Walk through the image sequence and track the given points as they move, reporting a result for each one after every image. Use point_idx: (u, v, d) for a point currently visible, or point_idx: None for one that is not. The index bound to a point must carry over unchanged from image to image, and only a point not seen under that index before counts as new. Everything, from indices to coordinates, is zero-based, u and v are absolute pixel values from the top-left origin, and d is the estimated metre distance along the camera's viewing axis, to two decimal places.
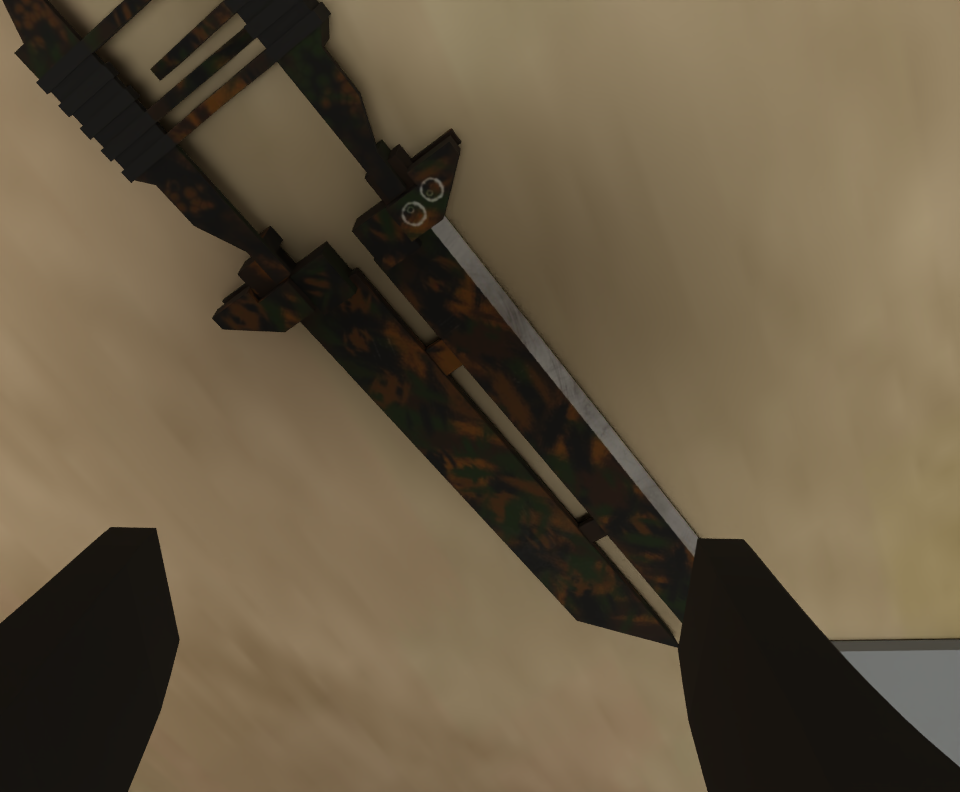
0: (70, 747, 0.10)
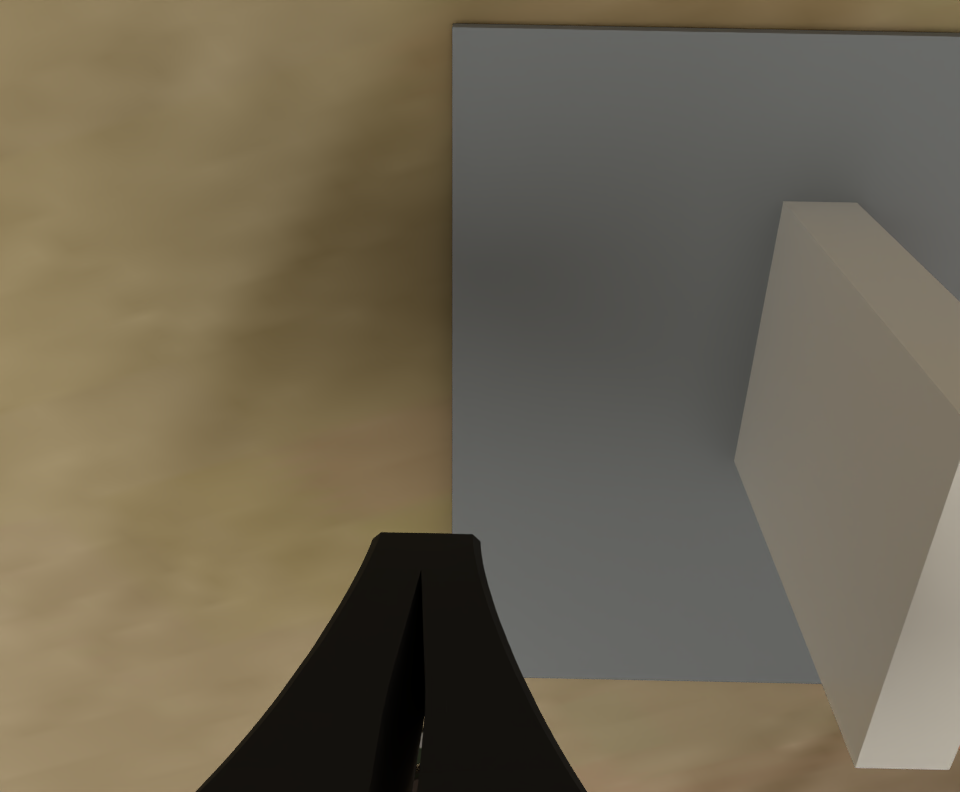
0: (397, 753, 0.10)
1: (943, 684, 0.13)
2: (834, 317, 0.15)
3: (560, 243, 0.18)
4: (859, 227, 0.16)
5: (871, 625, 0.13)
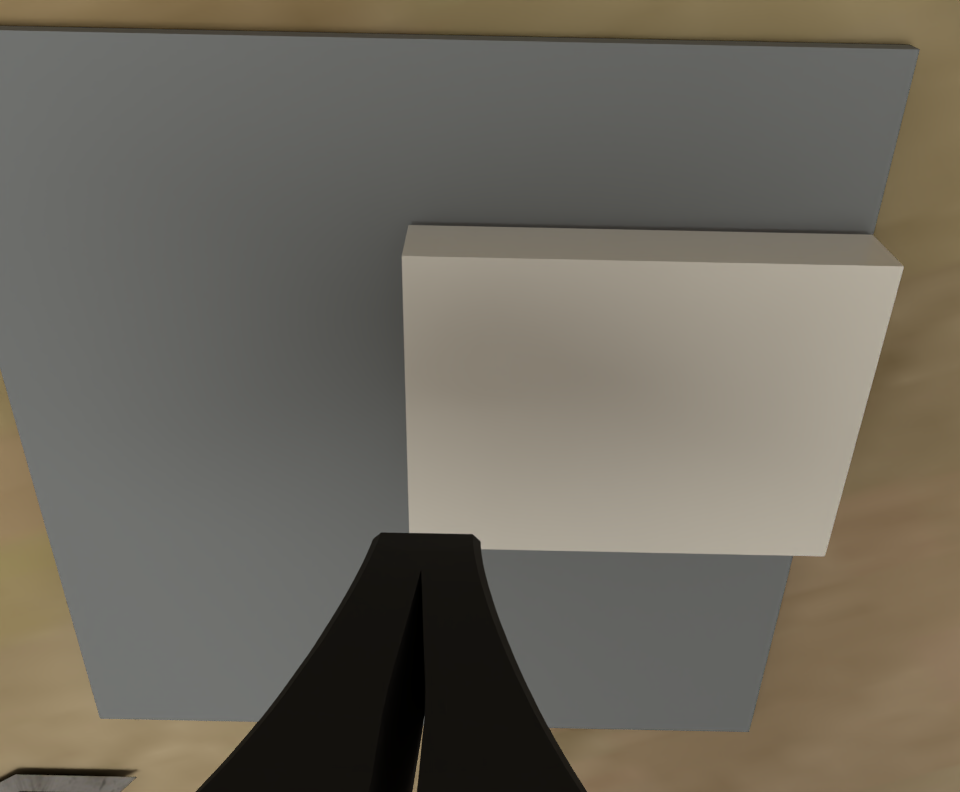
0: (397, 753, 0.10)
1: None
2: (620, 302, 0.15)
3: (87, 263, 0.16)
4: (487, 235, 0.15)
5: (809, 462, 0.17)
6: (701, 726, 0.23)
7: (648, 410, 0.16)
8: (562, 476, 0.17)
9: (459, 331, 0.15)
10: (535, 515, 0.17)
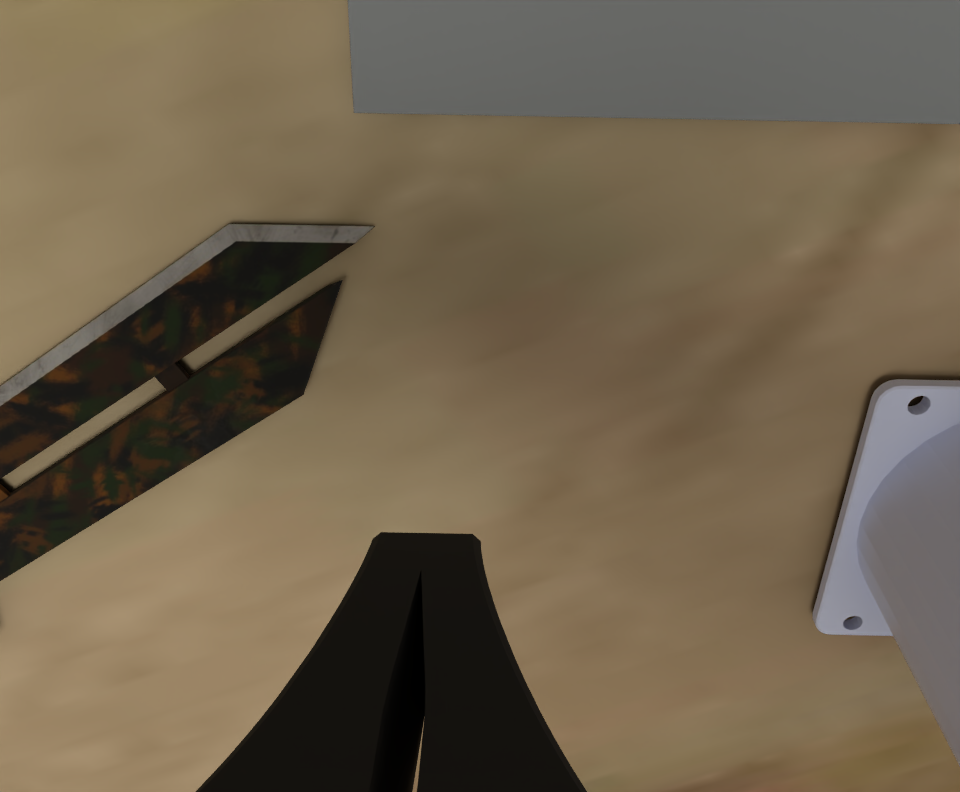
0: (397, 753, 0.10)
1: None
2: None
3: None
4: None
5: None
6: None
7: None
8: None
9: None
10: None
